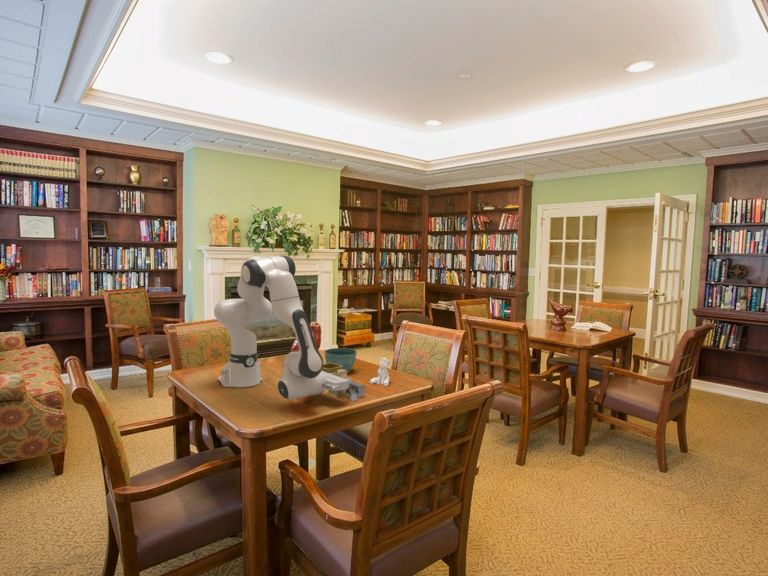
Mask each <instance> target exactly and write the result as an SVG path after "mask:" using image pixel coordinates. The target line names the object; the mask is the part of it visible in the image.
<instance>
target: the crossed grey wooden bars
mask: <svg viewBox="0 0 768 576" xmlns="http://www.w3.org/2000/svg"><path fill="white" fill-rule="evenodd" d="M365 389H366V387H365V384H363V383H360V382H357V381H354V380H352V382H350V383H349V388H348V389H347V394H348V398H349V399H350V401H351V402H358V399H361V398H364V397H365V395H366V394H365V393H366V392H365V391H366V390H365ZM328 393H331V394H337V391H332V390H329V389H328ZM360 397H361V398H360Z"/></svg>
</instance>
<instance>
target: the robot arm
mask: <svg viewBox="0 0 768 576" xmlns="http://www.w3.org/2000/svg"><path fill="white" fill-rule="evenodd" d="M295 274H296V264H295V261H294V260H293V258H292V257H291V256H288V255H279V256H278V255H277V256H276V255H273V256H272V255H271V256H265V257H262V256H259V255H256V256H255V255H254V256H251V257H250V258H248V259H247V261H244V263H243V264H242V265H241V273H240V276H239V280H238V284H237V286H236V287H237V288H236V289H237V294H238V296H239V297H240V298H229V299H222V300H220V301H218V302H217V303H216V304H215V307H214V309H213V310H214V311H213V312H214V317H215V320H217V321H218V322H219V323H220V324H221V325H223V326H224V327H225V328H226V330H227V332H228V333H229V337H230V346H231V347H230V349H231V352H229V359H228V360H229V361H228V362H227V363H226V364H225V365H224V366H223V367H222V369H221V370H220V374H221V375H220V376H218V377H216V380H217V379H218V380H219V381H220V382H221V383H220V382H219V381H218V380H217V381H218V382H219V383H220V384H221V385H222V387H224V388H249V387H253V386H257V385H259V384H261V382H262V381H263V380H264V377H262V376H261V375H262V373H261V364H260V363H259V361H258V360H259V359H258V357H259V356H258V354H259V353H258V352H257V349H258V347H257V339H258V338H257V335H256V333H254V331H251V330H249V329H246V328H245V324H246V323H259V322H264V321H266V320H269V319H270V318H271V317H272V314H274V317H275V318H276V319H277V320H279V321H280V322H282V323H284V324H286V325H287V326H289V327H290V328H291V329H292V330H293V332H294V334H295V337H296V341H297V345H298V347H299V351H290V352H289V353H287V354H286V355H285V356H284V358H283V361H282V367H283V369H282V374H281V377H280V379H279V381H278V382H277V389H278V393H279V394H280V395H281V397H282V398H284V399H286V400H296V399H302V398H305V397H307V396H314V395H320V394H323V393H324V392H325V391H326V390H328V391H329V390H332V391H339V390H345V389H348V388H349V383H350V382H352V381H353V379H352V377H348V376H347V378H346V379H344V378H341V377H338V376H337V373H327V372H324V371H322V368H323V364H324V360H323V357H322V354H321V352H320V351H319V349H318V347H317V344H316V341H315V338H314V337H315V336H314V334H313V331H312V327H311V324H310V321H309V319H308V316H307V314H306V312H305V311H304V308H303V306H302V303H301V299H300V295H299V291H298V287H297V283H296V281H295V279H294V277H295ZM265 287H267V289H268V291H269V292H268V293H269V299H270V300H269V299H267V298H266V297H265V296H264V292H265ZM260 381H261V382H260Z"/></svg>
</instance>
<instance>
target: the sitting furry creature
mask: <svg viewBox="0 0 768 576" xmlns="http://www.w3.org/2000/svg"><path fill="white" fill-rule="evenodd" d="M378 363H379V364H378V365H379V368H378V370H377V372H376V373H377V377H372V378H371V379H370V380H369V383H371V385H374V384H373V383H377V384H376V385H381V384H383V385H382V386H384V387H385V386H387V387H388V386H389V383H390V379H391V378H390V373H389V369H388V367H389V366H390V364H391V363H392V361H391V360H388V358H386V357H382V358H380V360H379V362H378Z"/></svg>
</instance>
